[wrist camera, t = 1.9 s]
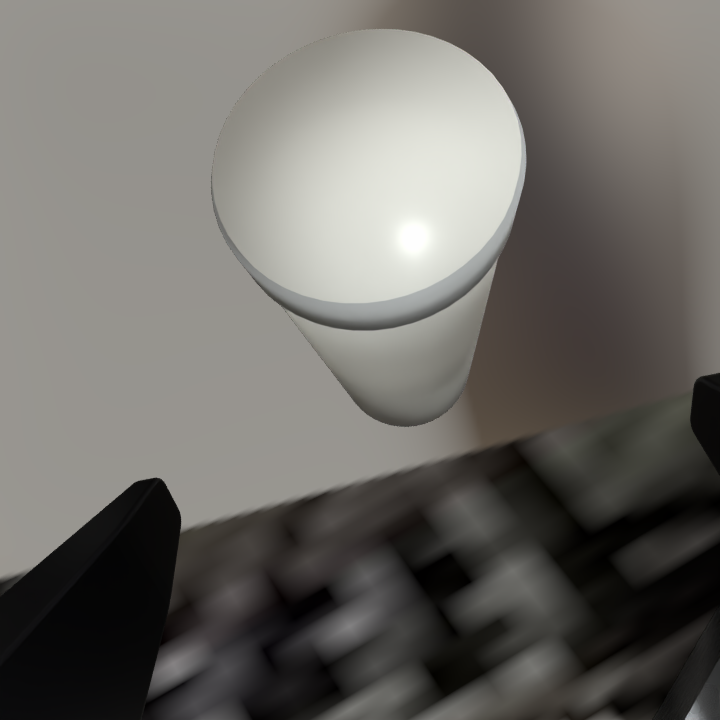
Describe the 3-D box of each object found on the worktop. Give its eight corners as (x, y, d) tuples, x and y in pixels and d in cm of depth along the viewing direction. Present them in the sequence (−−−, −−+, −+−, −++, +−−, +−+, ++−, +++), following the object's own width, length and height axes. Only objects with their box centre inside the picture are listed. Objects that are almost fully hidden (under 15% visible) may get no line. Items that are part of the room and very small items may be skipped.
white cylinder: (421, 456, 20) (398, 372, 7) (314, 379, 21) (145, 200, 9) (497, 347, 20) (594, 103, 8) (390, 280, 22) (331, -17, 9)
